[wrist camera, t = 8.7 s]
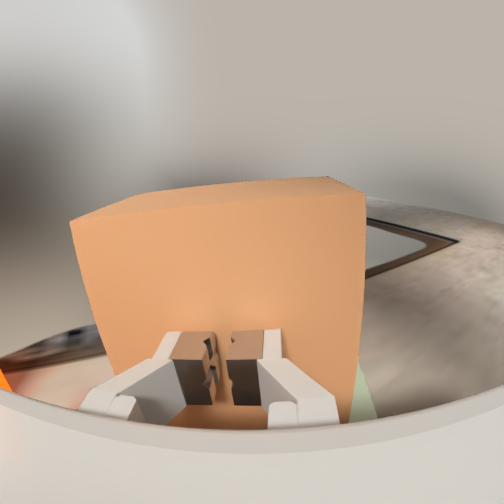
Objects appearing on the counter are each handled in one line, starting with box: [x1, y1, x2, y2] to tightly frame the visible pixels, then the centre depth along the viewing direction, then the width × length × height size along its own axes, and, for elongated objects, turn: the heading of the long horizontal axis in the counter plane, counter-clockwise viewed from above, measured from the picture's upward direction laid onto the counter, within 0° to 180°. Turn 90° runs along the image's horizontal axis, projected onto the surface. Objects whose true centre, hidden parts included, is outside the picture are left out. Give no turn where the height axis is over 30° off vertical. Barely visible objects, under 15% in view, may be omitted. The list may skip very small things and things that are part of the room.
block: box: [70, 176, 366, 430], centre depth 13 cm, size 6×9×10 cm, turn 86°
